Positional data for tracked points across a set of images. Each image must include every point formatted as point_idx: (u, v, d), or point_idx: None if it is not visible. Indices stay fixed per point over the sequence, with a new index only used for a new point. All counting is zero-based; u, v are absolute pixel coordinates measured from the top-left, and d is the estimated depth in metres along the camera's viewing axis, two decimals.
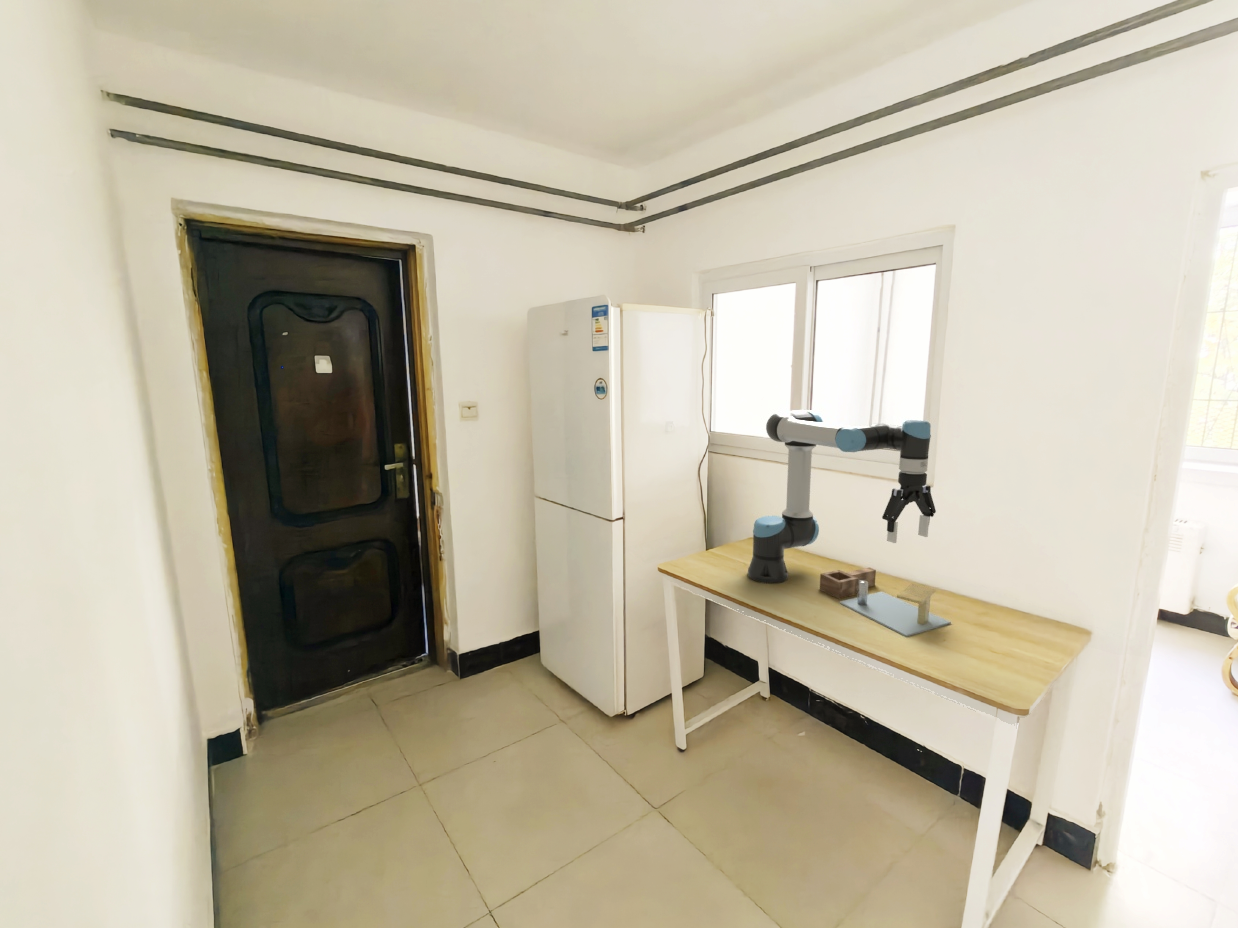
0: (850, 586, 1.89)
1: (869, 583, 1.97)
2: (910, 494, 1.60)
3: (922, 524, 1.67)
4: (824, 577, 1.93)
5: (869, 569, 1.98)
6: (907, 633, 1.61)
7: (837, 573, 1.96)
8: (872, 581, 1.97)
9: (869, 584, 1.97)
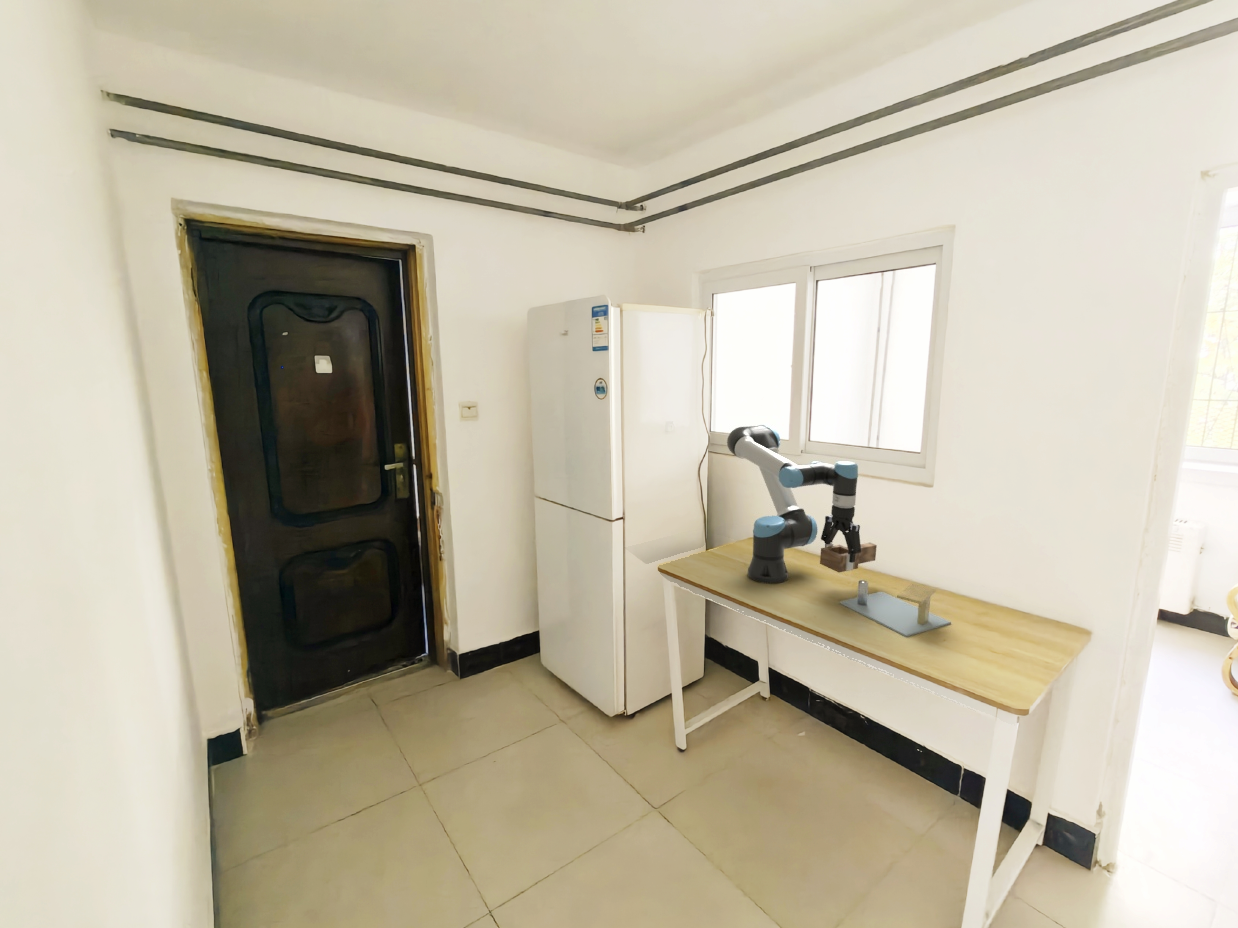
0: None
1: (869, 558, 1.96)
2: None
3: None
4: (825, 551, 1.92)
5: (870, 544, 1.97)
6: (907, 633, 1.61)
7: (838, 548, 1.95)
8: (872, 556, 1.96)
9: (869, 559, 1.96)
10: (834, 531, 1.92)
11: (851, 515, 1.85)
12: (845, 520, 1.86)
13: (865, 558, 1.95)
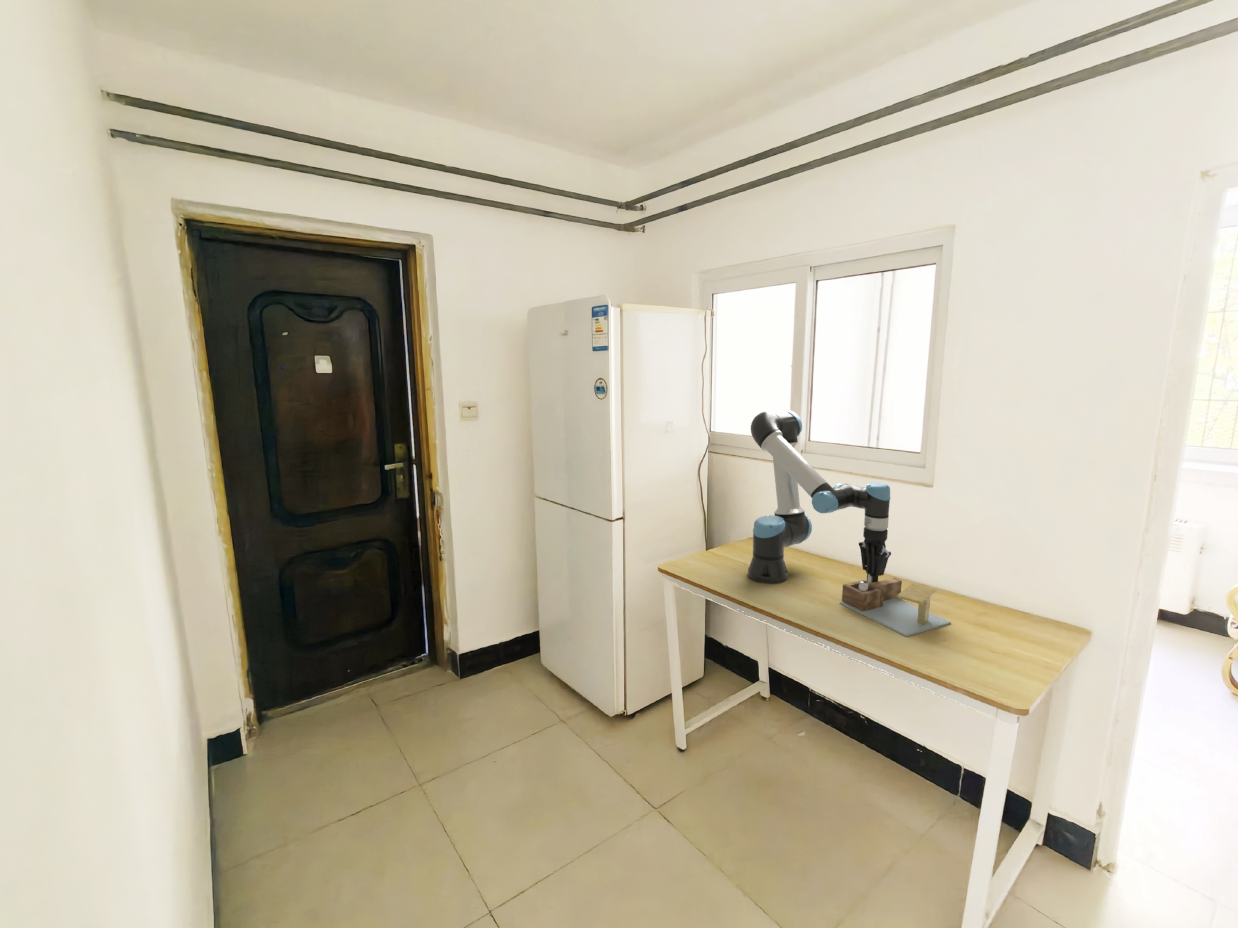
0: (875, 598, 1.77)
1: (894, 594, 1.85)
2: None
3: None
4: (847, 588, 1.81)
5: (895, 579, 1.86)
6: (907, 633, 1.61)
7: None
8: (898, 592, 1.86)
9: (894, 596, 1.85)
10: (871, 556, 1.86)
11: (883, 538, 1.81)
12: (878, 543, 1.82)
13: (889, 595, 1.84)
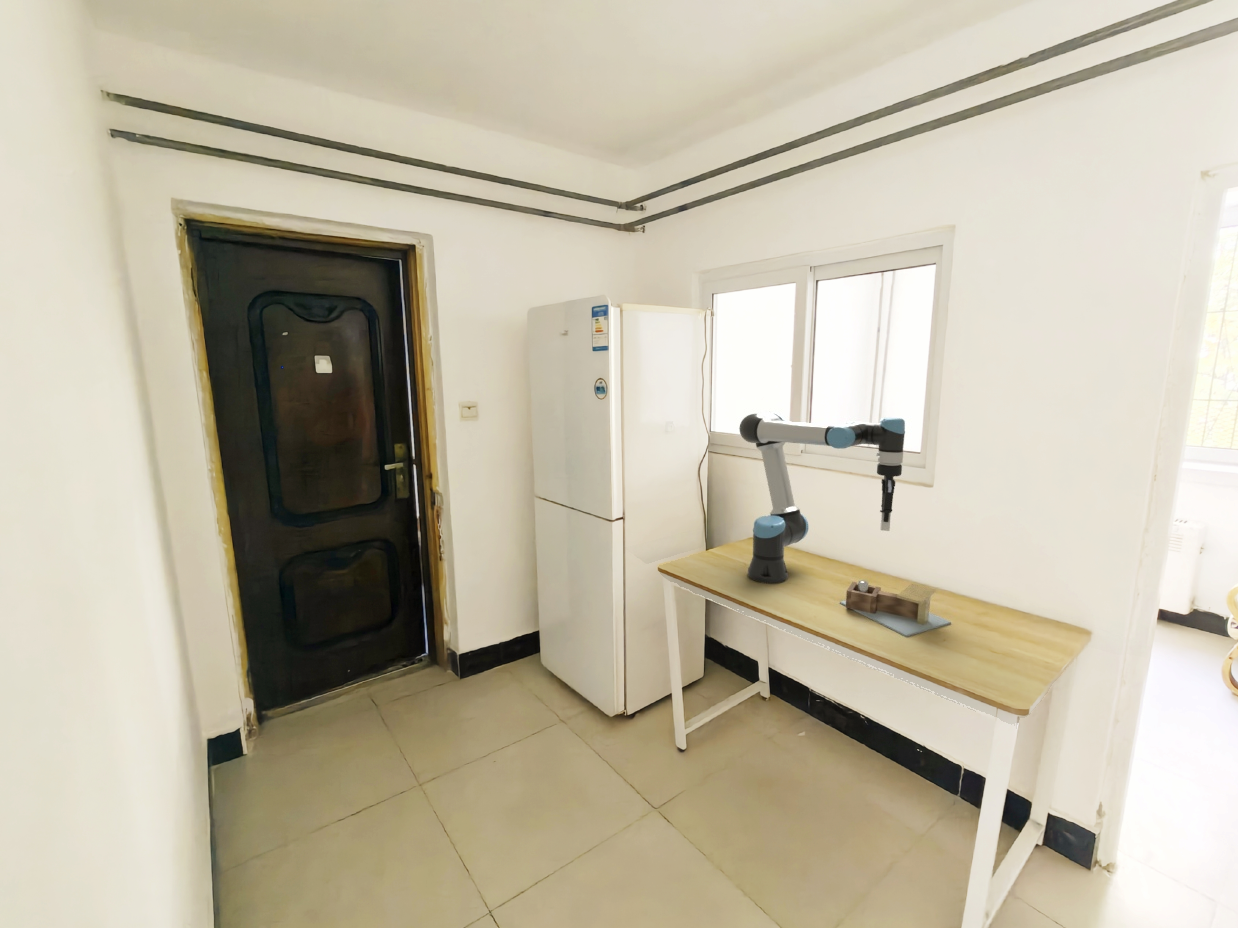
0: (863, 601, 1.75)
1: (907, 613, 1.71)
2: None
3: None
4: (851, 585, 1.84)
5: None
6: (907, 633, 1.61)
7: (872, 588, 1.80)
8: (913, 613, 1.70)
9: (907, 615, 1.71)
10: None
11: (890, 473, 1.78)
12: (886, 478, 1.79)
13: (899, 610, 1.72)
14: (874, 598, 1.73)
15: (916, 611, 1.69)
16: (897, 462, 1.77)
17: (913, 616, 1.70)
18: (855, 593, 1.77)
